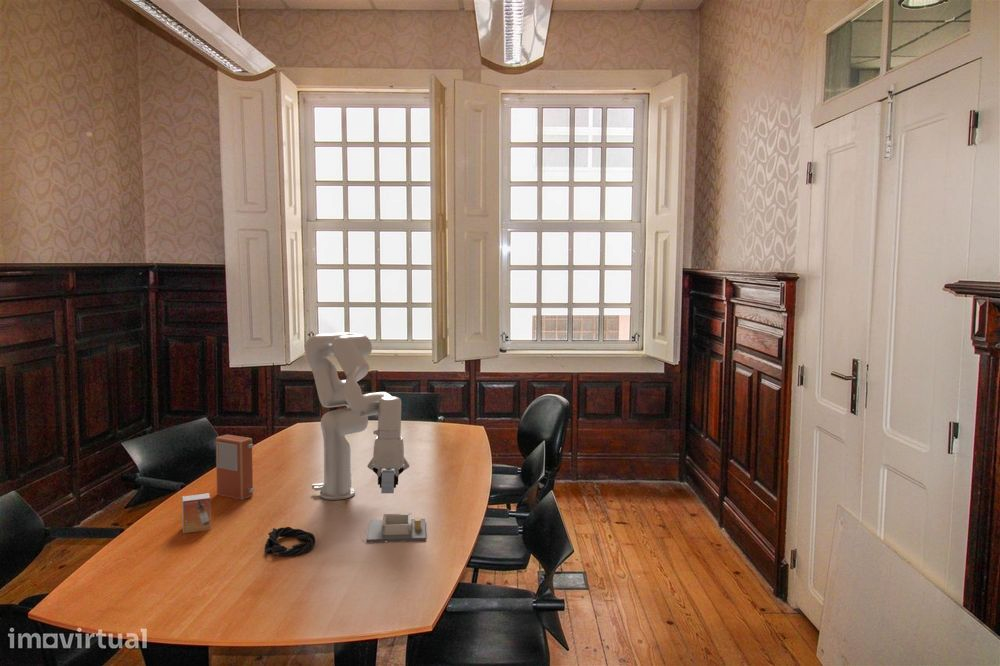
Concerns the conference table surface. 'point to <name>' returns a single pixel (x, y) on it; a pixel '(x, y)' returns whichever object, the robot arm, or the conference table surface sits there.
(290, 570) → the conference table surface
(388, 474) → the block
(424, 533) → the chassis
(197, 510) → the small box
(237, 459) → the orange electrical enclosure
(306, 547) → the cable
